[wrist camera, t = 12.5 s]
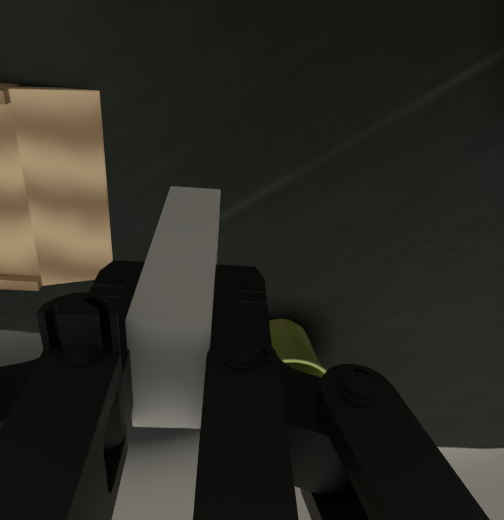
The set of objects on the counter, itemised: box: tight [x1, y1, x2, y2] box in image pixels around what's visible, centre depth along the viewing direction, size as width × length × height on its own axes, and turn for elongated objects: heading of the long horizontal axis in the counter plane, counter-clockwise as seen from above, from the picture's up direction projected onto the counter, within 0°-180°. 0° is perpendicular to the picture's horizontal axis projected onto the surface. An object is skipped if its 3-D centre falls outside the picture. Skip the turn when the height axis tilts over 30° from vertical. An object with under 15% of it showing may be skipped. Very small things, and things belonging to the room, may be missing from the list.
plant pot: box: [269, 319, 327, 377], centre depth 47 cm, size 9×9×9 cm
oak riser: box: [0, 83, 113, 291], centre depth 40 cm, size 18×19×4 cm
